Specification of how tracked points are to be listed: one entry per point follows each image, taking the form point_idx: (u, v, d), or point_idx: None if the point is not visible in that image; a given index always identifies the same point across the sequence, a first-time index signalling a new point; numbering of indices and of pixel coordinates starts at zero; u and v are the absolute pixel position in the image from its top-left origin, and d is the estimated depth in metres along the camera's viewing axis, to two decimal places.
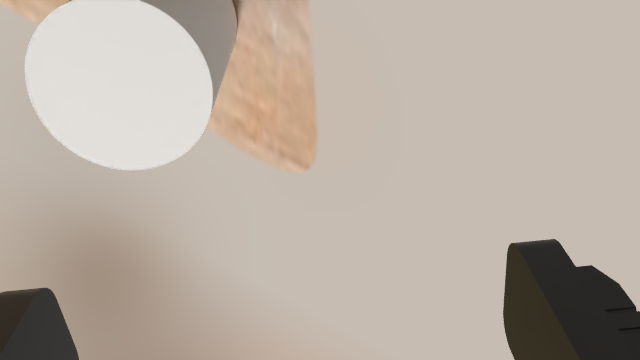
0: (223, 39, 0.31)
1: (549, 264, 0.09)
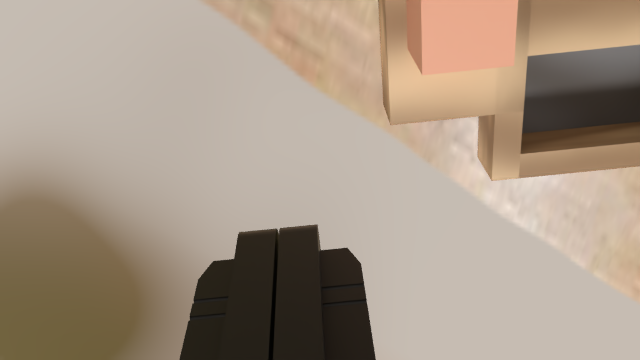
0: None
1: (297, 246, 0.10)
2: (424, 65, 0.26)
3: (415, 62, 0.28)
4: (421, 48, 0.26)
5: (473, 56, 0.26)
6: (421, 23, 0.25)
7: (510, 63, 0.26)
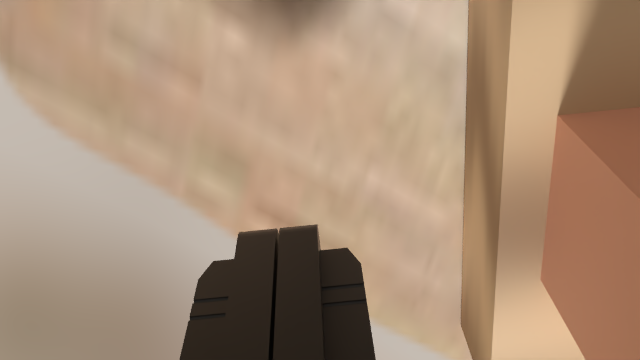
0: None
1: (297, 246, 0.10)
2: None
3: (583, 353, 0.11)
4: None
5: None
6: None
7: None
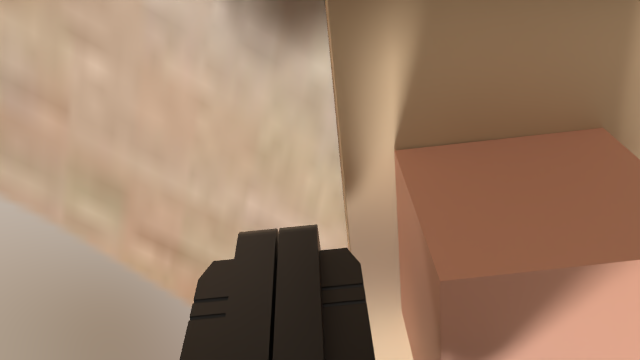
0: None
1: (297, 245, 0.10)
2: None
3: None
4: None
5: None
6: None
7: None
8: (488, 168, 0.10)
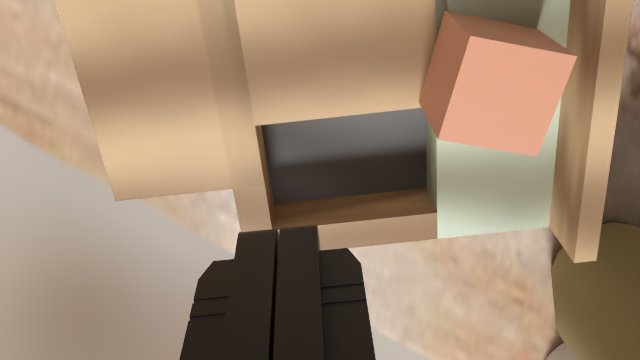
0: None
1: (297, 246, 0.10)
2: (443, 129, 0.22)
3: (429, 121, 0.24)
4: (446, 110, 0.22)
5: (498, 134, 0.23)
6: (455, 82, 0.22)
7: (534, 152, 0.23)
8: (487, 23, 0.23)
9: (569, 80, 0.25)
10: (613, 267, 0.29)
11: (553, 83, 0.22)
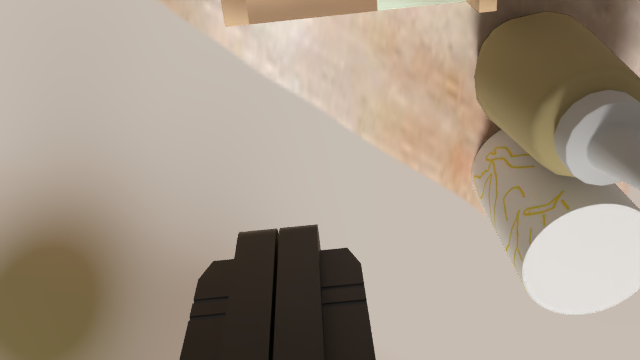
0: None
1: (297, 246, 0.10)
2: None
3: None
4: None
5: None
6: None
7: None
8: None
9: None
10: (515, 29, 0.36)
11: None
